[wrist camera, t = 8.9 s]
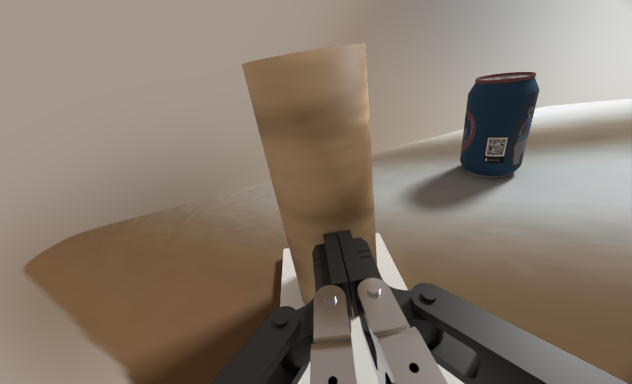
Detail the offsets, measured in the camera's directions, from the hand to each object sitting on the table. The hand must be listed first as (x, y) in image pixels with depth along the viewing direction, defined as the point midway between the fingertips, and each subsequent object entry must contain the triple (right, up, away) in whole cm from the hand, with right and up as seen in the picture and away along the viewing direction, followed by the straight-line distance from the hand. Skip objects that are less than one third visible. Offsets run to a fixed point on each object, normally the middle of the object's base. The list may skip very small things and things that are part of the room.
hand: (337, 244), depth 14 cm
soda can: (+23, +6, +21) cm, 32 cm away
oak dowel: (+1, -4, +6) cm, 7 cm away
